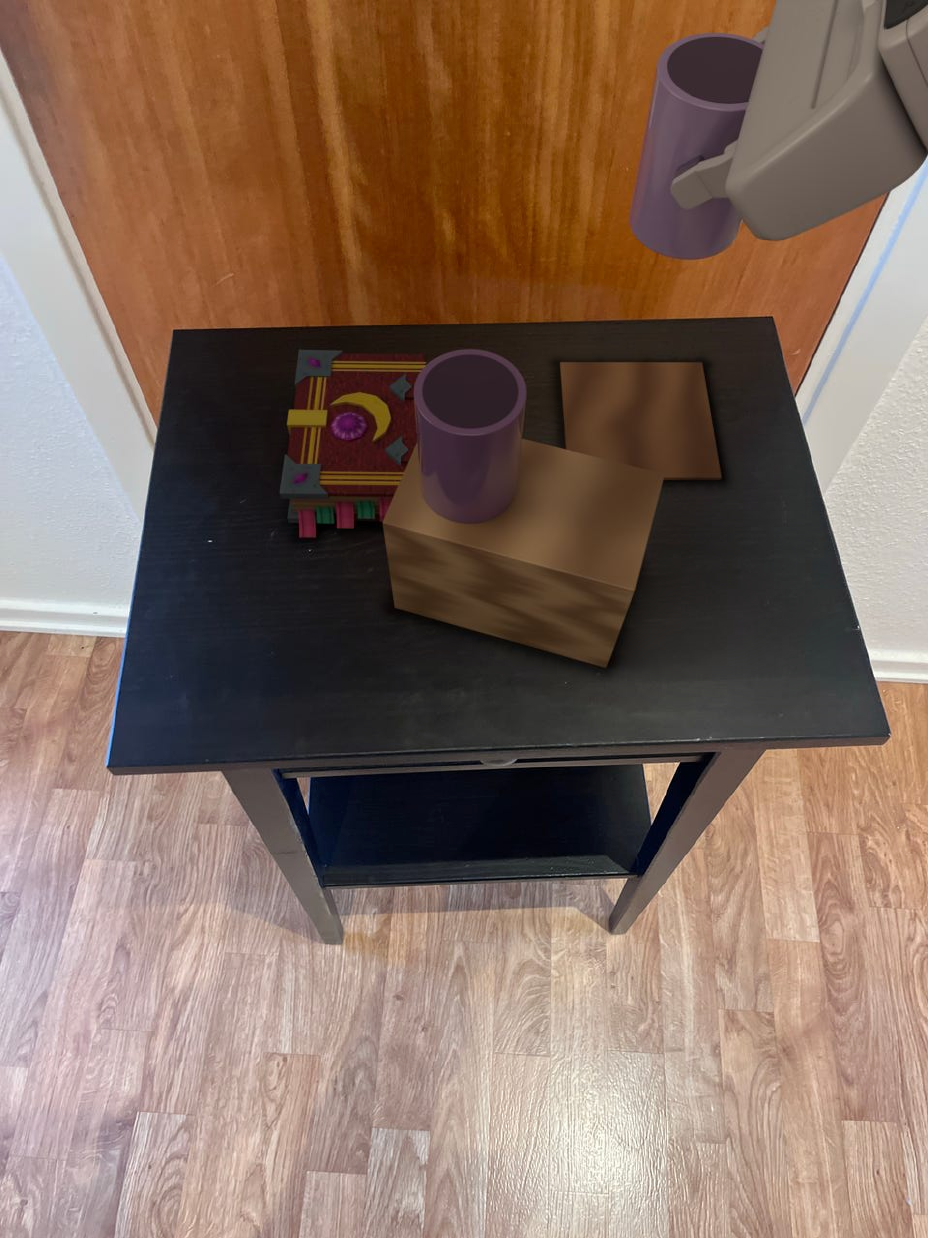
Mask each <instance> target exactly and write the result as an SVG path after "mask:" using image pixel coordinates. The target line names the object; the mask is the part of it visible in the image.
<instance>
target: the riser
mask: <svg viewBox="0 0 928 1238" xmlns="http://www.w3.org/2000/svg"><path fill="white" fill-rule="evenodd" d="M664 476H665V475H664V474H661V473H657V472H653V471H649V470H645V469H641V468H637V467H633V466H629V465H625V464H621V463H617V462H613V461H609V460H605V459H601V458H597V457H593V456H589V455H585V454H582V453H578V452H574V451H570V450H566V448H562V447H558V446H553V445H549V444H545V443H542V442H538V441H534V440H529V439H525V438H522V447H521V457H520V468H519V478H518V488H517V493H516V495H515V498H514V500H513V502H512V503H511V505H510V506H509V507H508V508H507V509H506V510H505V511H504V512H503V513H501V514H500V515H498V516H497V517H495V518H493V519H490V520H488V521H485V522H480V523H472V524H466V523H458V522H454V521H450V520H448V519H445V518H443V517H441V516H440V515H438V514H437V513H435V512H434V511H433V510H432V509H431V508H430V507H429V506H428V504H427V503H426V502H425V500H424V498H423V496H422V493H421V489H420V476H419V462H418V447H417V444H416V446H415V448H414V451H413V453H412V455H411V458H410V460H409V462H408V465H407V467H406V469H405V472H404V474H403V476H402V479H401V481H400V483H399V485H398V488H397V490H396V492H395V495H394V497H393V499H392V502H391V504H390V506H389V509H388V511H387V513H386V516H385V518H384V520H383V522H382V528H383V535H384V542H385V549H386V556H387V563H388V569H389V576H390V583H391V591H392V597H393V604H394V608H395V609H398V610H401V611H403V612H404V611H405V612H409V613H412V614H415V615H419V616H422V617H425V618H429V619H433V620H435V621H440V622H443V623H447V624H450V625H453V626H457V627H461V628H464V629H467V630H471V631H474V632H479V633H481V634H484V635H489V636H492V637H496V638H500V639H502V640H507V641H510V642H513V643H517V644H521V645H524V646H528V647H530V648H535V649H538V650H541V651H544V652H548V653H551V654H556V655H559V656H562V657H567V658H570V659H572V660H576V661H580V662H584V663H587V664H591V665H595V666H598V667H601V668H605V669H606V668H608V664H609V661H610V659H611V656H612V654H613V651H614V648H615V646H616V643H617V640H618V638H619V634H620V633H621V630H622V626H623V625H624V621H625V619H626V616H627V614H628V611H629V608H630V605H631V602H632V599H633V597H634V595H635V592H636V588H637V584H638V581H639V578H640V577H639V576H640V572H641V570H642V569H641V568H642V565H643V561H644V557H645V553H646V550H647V545H648V541H649V538H650V534H651V530H652V526H653V522H654V519H655V515H656V512H657V511H656V510H657V506H658V503H659V499H660V495H661V492H662V487H663V483H664V481H665V480H664Z"/></svg>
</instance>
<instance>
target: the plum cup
mask: <svg viewBox="0 0 928 1238" xmlns="http://www.w3.org/2000/svg"><path fill="white" fill-rule="evenodd" d="M527 392H528V391H527V385H526V381H525V379H524V377H523V374H522V373H521V372H520V370H519V369H518V368H517V367H516V365H514V364H513V363H512V362H511V361H509V360H508V359H506V358H505V357H503V356H501V355H499V354H497V353H495V352H491V351H488V350H483V349H475V348H474V349H473V348H467V349H457V350H452V351H448V352H445V353H443V354H441V355H439V356H436V357H435V358H433V359H432V360H431V361H429V362H427V365H426V366H425V367H424V368H423V369H422V371H421V372H420V374H419V375H418V377H417V379H416V382H415V385H414V404H415V419H416V433H417V447H418V462H419V476H420V489H421V493H422V496H423V498H424V500H425V502H426V503H427V504H428V506H429V507H430V508H431V509H432V510H433V511H434V512H435V513H437V514H438V515H440V516H441V517H443V518H445V519H448V520H450V521H454V522H458V523H466V524H472V523H480V522H485V521H488V520H490V519H493V518H495V517H497V516H498V515H500V514H501V513H503V512H504V511H505V510H506V509H507V508H508V507H509V506H510V505H511V503H512V502H513V500H514V498H515V495H516V493H517V488H518V478H519V468H520V457H521V447H522V439H523V435H524V425H525V418H526V417H525V416H526V406H527V396H528V395H527Z"/></svg>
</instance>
